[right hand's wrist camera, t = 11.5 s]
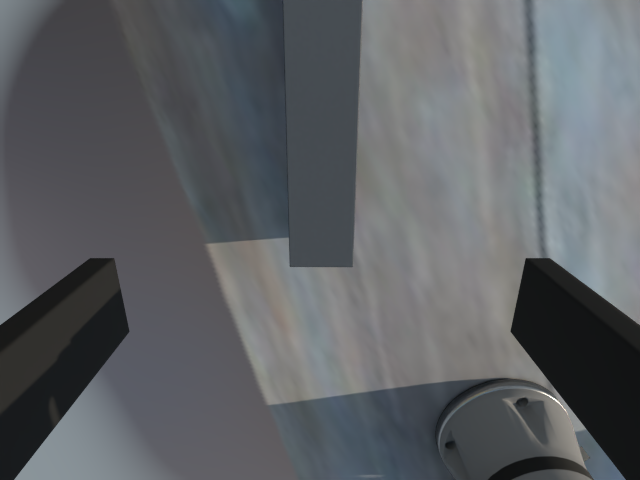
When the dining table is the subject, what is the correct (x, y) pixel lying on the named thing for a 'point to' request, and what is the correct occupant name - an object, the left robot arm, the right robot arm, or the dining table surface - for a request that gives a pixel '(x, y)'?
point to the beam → (322, 128)
